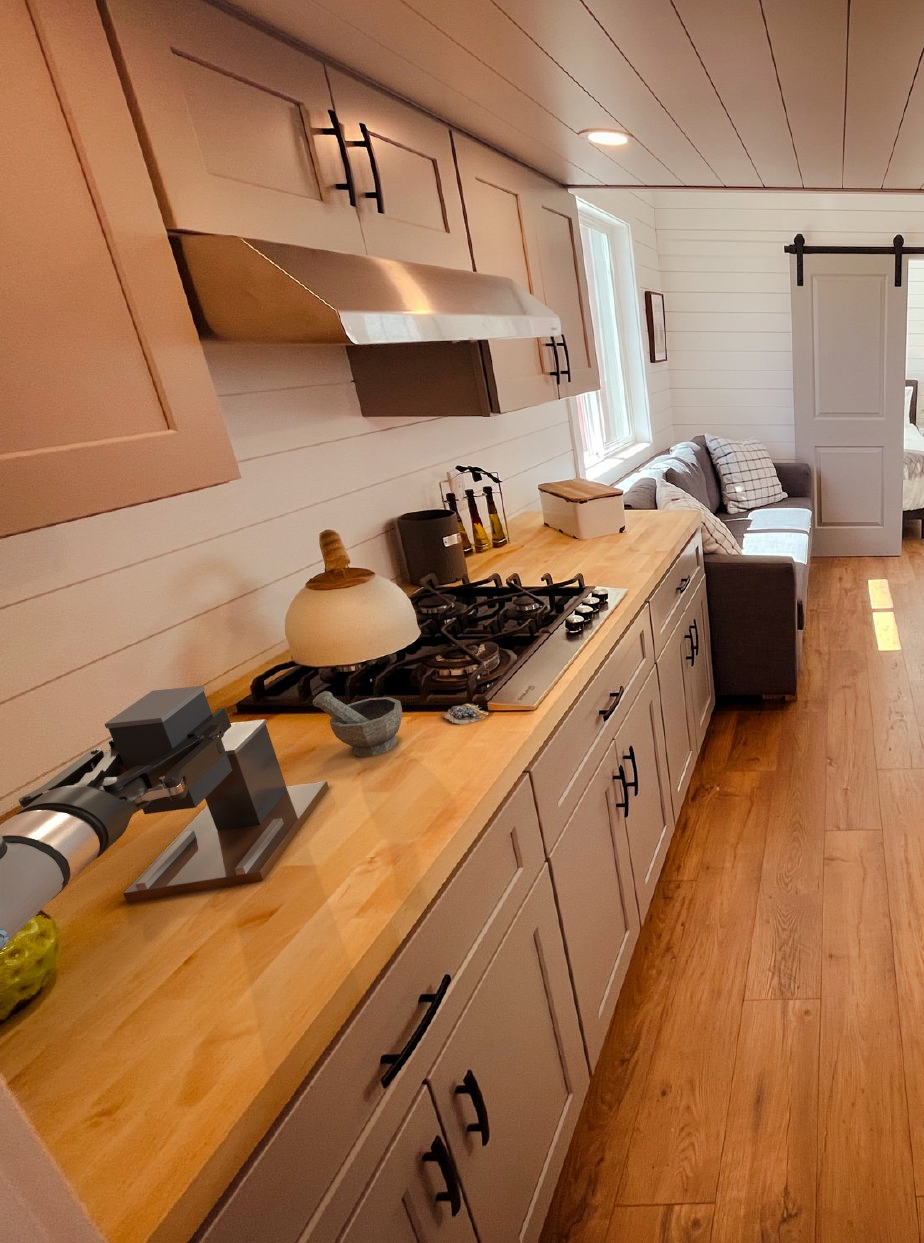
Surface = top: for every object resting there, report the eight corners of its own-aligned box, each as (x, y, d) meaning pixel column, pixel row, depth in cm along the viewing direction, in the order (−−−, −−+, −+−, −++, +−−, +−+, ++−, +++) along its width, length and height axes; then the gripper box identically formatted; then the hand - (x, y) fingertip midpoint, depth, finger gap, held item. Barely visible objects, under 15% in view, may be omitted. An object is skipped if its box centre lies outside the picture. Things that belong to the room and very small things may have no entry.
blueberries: (461, 704, 130) (459, 695, 129) (499, 708, 129) (497, 699, 128) (434, 722, 124) (432, 713, 123) (475, 727, 122) (473, 717, 122)
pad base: (126, 903, 83) (84, 810, 79) (219, 803, 101) (189, 723, 97) (263, 881, 87) (231, 791, 82) (329, 788, 105) (305, 710, 100)
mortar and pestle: (401, 726, 122) (386, 665, 118) (416, 746, 116) (401, 683, 112) (324, 750, 115) (304, 686, 111) (336, 774, 109) (316, 706, 104)
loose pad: (142, 815, 81) (103, 723, 76) (185, 775, 88) (152, 690, 84) (196, 808, 82) (161, 717, 78) (234, 769, 89) (203, 685, 85)
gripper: (-50, 888, 65) (120, 756, 86) (180, 854, 70) (289, 736, 91) (-88, 823, 63) (98, 702, 84) (155, 792, 67) (273, 685, 88)
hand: (197, 720), depth 87 cm, fingers closed on loose pad, 5 cm apart
